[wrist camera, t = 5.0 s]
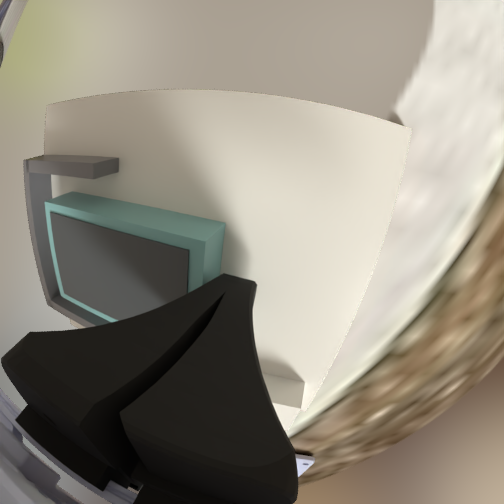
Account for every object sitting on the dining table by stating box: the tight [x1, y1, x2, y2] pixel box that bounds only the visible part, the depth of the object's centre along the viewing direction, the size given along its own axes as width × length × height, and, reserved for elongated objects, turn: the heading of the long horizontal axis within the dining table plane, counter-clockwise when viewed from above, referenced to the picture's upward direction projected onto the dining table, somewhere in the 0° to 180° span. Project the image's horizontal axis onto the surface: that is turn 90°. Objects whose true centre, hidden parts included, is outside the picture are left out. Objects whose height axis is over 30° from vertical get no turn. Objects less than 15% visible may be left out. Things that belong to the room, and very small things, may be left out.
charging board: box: [24, 89, 412, 431], centre depth 10 cm, size 16×14×2 cm
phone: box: [45, 191, 226, 322], centre depth 10 cm, size 8×5×2 cm, turn 83°
